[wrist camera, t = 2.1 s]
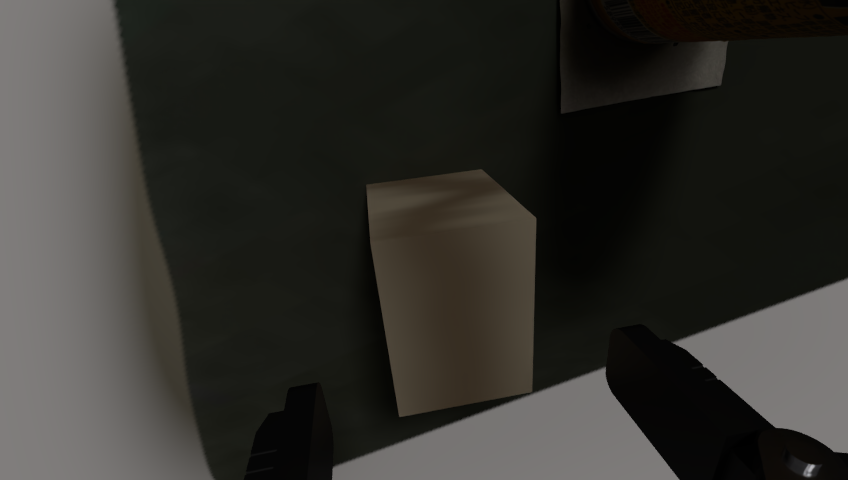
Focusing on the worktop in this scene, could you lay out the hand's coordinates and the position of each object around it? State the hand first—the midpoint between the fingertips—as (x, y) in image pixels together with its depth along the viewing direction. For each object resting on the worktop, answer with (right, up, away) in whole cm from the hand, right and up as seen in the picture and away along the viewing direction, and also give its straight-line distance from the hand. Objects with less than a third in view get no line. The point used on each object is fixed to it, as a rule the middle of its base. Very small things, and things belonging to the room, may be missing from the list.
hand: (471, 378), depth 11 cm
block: (-1, +3, +8) cm, 9 cm away
